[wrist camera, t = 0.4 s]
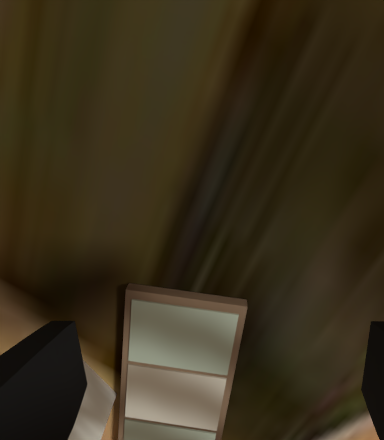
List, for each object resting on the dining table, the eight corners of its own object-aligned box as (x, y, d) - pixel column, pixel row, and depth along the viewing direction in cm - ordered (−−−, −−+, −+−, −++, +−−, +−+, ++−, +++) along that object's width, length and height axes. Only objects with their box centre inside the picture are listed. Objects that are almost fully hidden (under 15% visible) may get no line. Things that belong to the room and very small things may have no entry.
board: (204, 513, 25) (204, 526, 25) (117, 499, 26) (114, 511, 25) (246, 299, 19) (247, 307, 18) (128, 283, 19) (125, 290, 18)
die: (117, 392, 22) (89, 471, 18) (64, 422, 24) (25, 503, 19) (65, 340, 21) (20, 409, 16) (13, 374, 22) (-43, 448, 18)
